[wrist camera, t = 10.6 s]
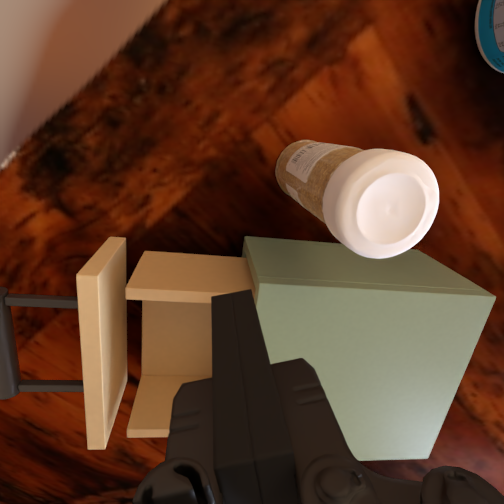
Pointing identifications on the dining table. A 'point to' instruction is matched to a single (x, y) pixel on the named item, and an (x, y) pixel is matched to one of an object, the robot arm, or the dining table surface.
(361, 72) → the dining table surface
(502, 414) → the dining table surface
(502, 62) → the beverage bottle
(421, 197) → the spice jar
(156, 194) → the dining table surface
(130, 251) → the dining table surface
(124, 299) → the drawer
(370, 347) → the cabinet
